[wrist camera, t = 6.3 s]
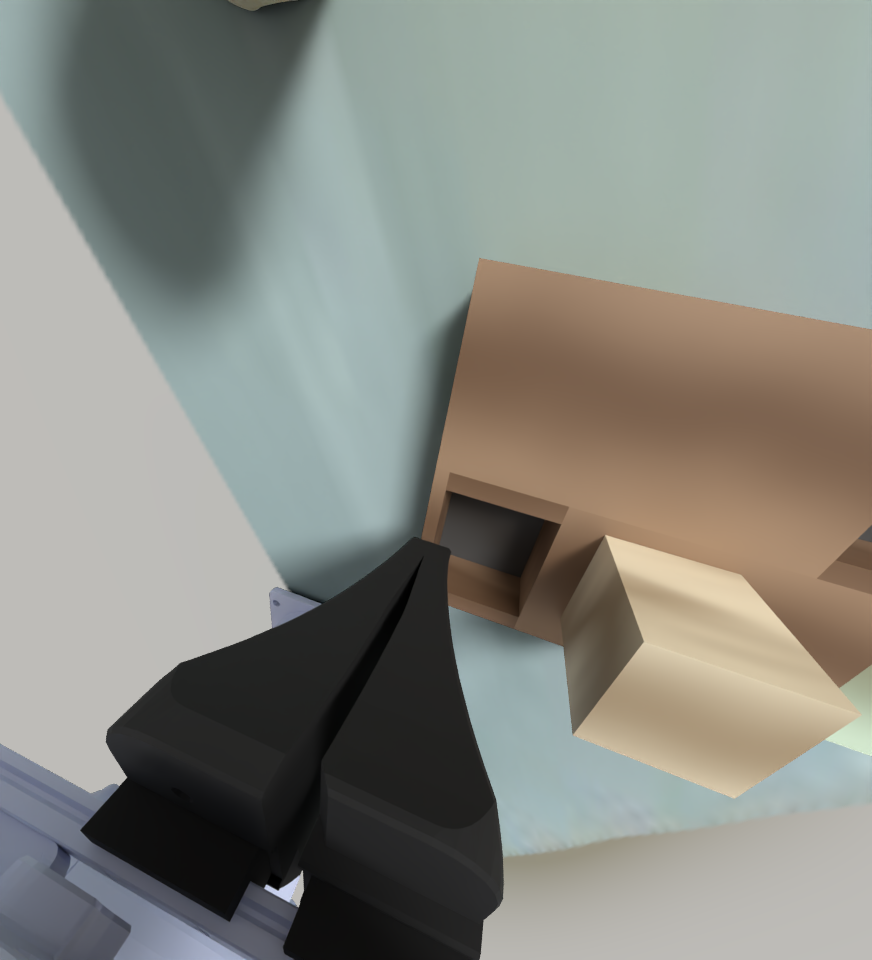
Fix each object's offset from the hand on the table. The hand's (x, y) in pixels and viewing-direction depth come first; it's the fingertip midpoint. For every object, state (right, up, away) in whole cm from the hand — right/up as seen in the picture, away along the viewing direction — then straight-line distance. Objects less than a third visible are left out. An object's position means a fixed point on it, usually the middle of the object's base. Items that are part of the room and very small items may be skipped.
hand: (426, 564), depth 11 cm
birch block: (+7, -1, 0) cm, 7 cm away
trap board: (+10, +2, +1) cm, 11 cm away
